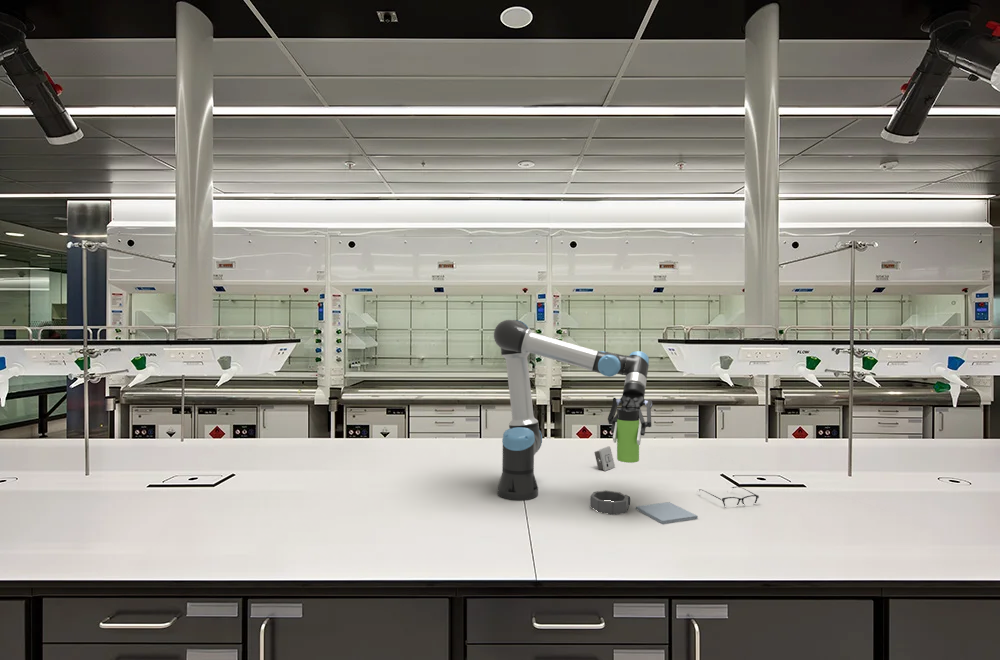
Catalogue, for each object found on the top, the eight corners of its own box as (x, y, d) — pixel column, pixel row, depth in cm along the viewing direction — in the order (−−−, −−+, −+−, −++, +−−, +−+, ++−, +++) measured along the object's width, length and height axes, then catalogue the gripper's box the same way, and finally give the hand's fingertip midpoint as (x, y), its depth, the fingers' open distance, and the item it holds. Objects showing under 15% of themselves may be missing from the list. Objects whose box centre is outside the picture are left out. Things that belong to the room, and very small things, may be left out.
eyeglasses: (721, 509, 180) (721, 498, 180) (693, 495, 195) (693, 484, 195) (761, 506, 184) (761, 495, 184) (730, 492, 200) (731, 481, 200)
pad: (662, 524, 165) (662, 520, 165) (635, 509, 178) (635, 506, 178) (697, 518, 170) (697, 515, 170) (669, 504, 183) (669, 502, 183)
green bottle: (623, 456, 182) (623, 406, 182) (642, 459, 178) (642, 409, 178) (613, 460, 177) (613, 409, 177) (633, 464, 172) (633, 411, 172)
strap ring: (603, 516, 171) (603, 503, 171) (585, 504, 182) (585, 492, 182) (638, 511, 176) (638, 499, 176) (618, 500, 187) (618, 489, 187)
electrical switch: (605, 471, 224) (603, 450, 225) (594, 470, 227) (593, 449, 228) (615, 467, 231) (613, 446, 232) (604, 466, 235) (603, 445, 235)
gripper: (664, 395, 187) (658, 450, 172) (608, 392, 195) (598, 445, 181) (662, 382, 182) (656, 437, 167) (605, 380, 190) (594, 432, 176)
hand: (626, 441), depth 174 cm, fingers closed on green bottle, 7 cm apart
